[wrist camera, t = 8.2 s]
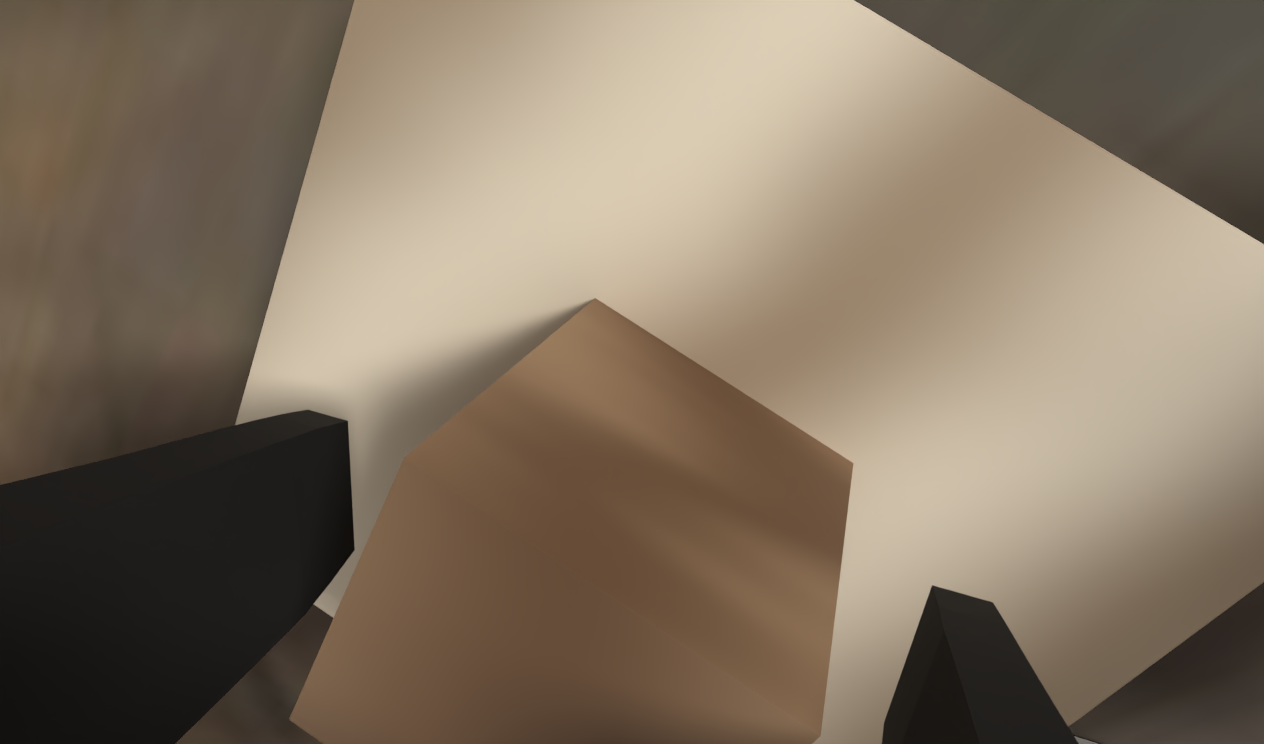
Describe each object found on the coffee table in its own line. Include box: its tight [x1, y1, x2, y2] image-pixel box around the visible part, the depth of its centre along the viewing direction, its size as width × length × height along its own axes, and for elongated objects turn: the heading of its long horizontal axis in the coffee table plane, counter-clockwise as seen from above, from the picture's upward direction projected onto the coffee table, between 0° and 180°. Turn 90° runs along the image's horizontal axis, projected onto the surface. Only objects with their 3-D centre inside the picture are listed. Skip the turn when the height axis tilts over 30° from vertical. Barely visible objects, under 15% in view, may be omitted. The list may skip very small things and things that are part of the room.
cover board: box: [235, 0, 1264, 744], centre depth 9 cm, size 13×13×5 cm
